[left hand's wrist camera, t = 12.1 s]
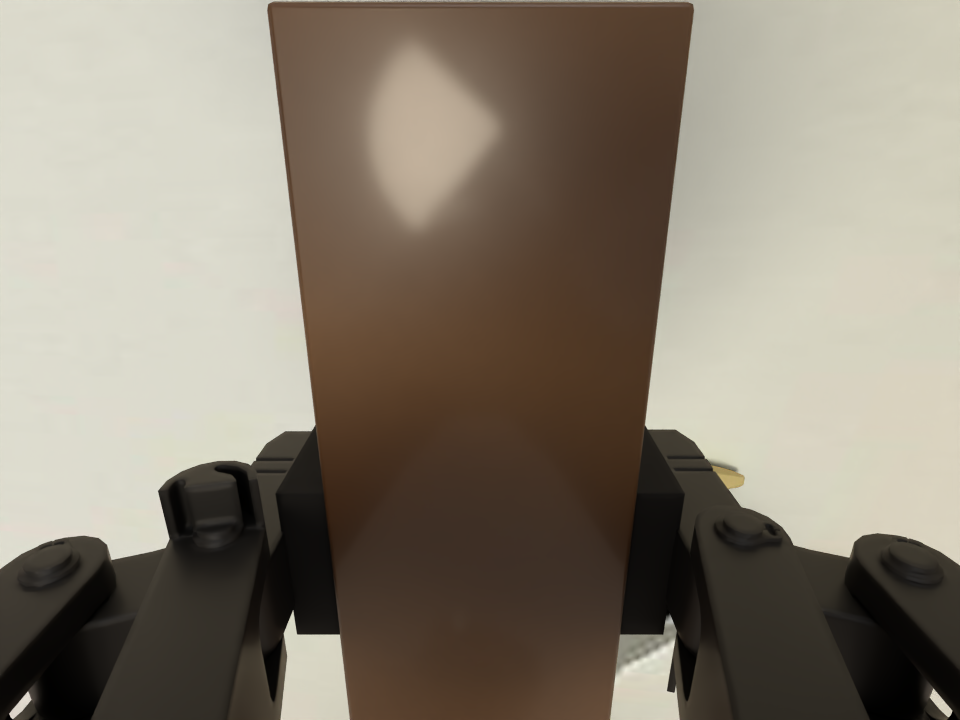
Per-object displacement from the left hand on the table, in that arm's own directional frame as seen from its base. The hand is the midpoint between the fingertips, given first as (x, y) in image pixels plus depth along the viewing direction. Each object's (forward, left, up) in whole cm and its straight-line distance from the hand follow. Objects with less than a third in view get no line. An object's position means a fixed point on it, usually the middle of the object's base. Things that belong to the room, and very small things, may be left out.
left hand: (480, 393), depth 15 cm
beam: (+12, +13, -1) cm, 18 cm away
